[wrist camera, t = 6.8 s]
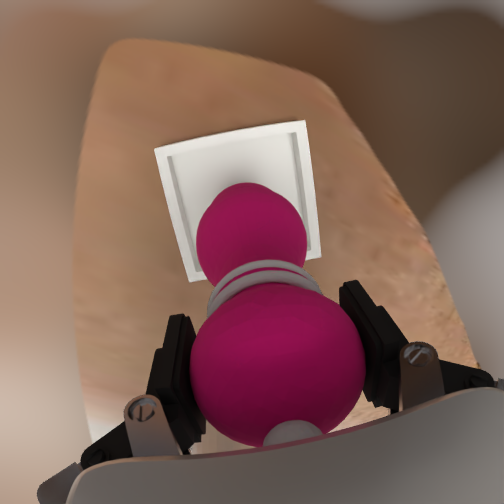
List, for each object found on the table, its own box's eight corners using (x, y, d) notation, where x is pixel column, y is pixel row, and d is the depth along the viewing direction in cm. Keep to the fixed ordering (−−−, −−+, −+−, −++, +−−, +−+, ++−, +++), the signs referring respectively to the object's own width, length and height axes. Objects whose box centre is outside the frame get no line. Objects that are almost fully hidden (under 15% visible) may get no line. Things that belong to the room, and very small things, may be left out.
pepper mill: (308, 200, 24) (474, 400, 6) (266, 275, 27) (326, 514, 8) (224, 159, 23) (223, 347, 4) (186, 242, 25) (133, 495, 7)
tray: (313, 245, 35) (321, 257, 32) (191, 269, 35) (189, 282, 32) (297, 120, 29) (305, 120, 27) (160, 146, 29) (154, 149, 27)
